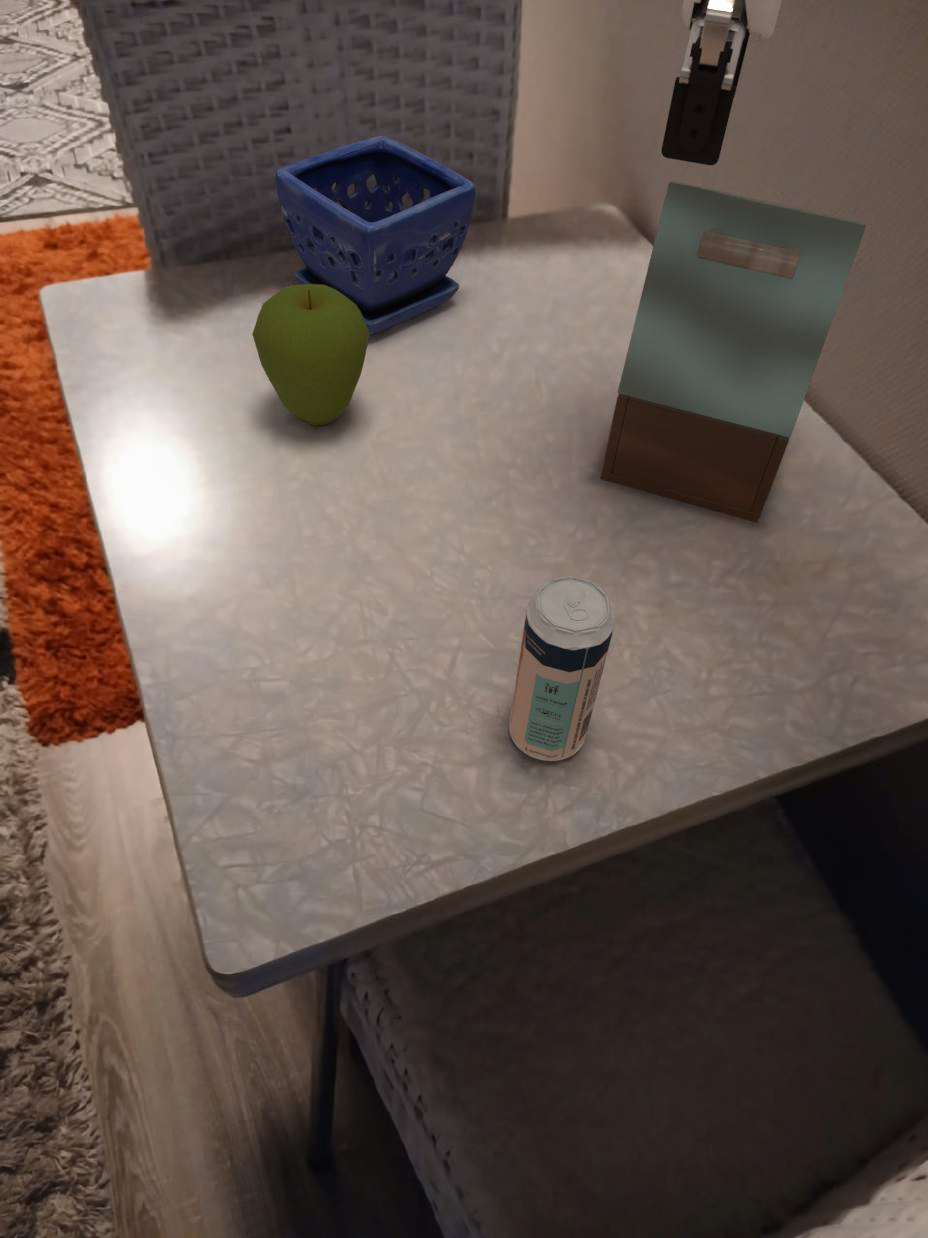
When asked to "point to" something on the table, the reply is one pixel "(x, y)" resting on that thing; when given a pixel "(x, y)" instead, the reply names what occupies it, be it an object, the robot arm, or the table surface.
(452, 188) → the flower pot
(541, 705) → the beer can
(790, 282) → the lid
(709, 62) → the robot arm
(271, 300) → the apple
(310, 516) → the table surface
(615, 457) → the chest
